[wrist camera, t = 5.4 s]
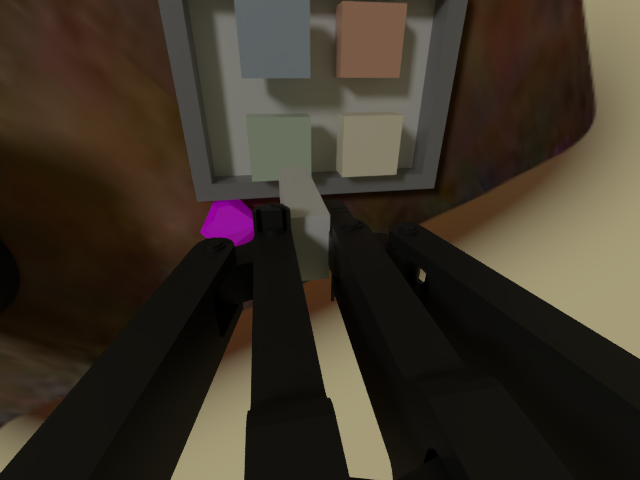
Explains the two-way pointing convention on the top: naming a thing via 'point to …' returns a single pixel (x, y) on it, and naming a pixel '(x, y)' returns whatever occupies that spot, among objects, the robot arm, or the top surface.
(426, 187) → the grey tray
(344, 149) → the key cream
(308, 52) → the key slate
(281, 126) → the key sage
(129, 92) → the top surface
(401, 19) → the key terracotta
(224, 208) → the crystal
